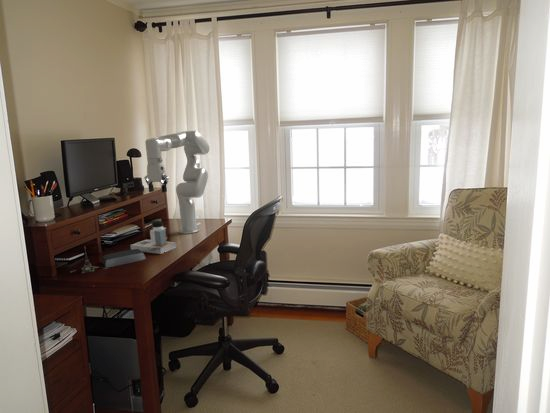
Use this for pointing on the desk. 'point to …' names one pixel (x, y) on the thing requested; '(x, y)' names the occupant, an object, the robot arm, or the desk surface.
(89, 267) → the eiffel tower figurine
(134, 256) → the external hard drive
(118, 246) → the desk surface
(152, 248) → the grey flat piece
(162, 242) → the peg
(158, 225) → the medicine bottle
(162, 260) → the desk surface
